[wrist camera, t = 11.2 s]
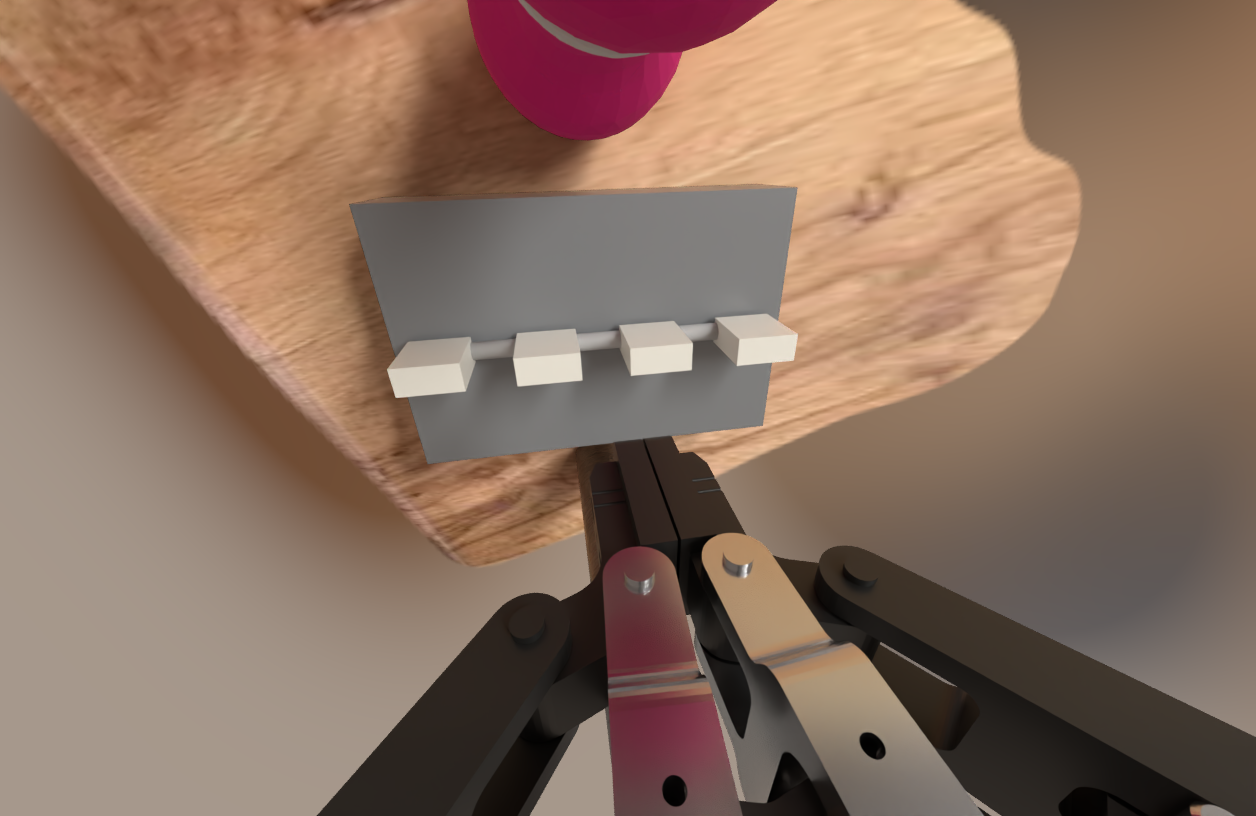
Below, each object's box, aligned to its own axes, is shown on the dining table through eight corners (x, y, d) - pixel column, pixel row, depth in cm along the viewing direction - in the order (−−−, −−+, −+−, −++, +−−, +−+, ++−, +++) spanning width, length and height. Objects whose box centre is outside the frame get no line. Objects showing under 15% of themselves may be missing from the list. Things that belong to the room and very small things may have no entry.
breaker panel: (382, 197, 20) (349, 204, 16) (758, 184, 22) (797, 187, 19) (443, 424, 26) (427, 463, 22) (735, 393, 28) (762, 425, 25)
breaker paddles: (409, 339, 19) (386, 369, 16) (765, 312, 21) (798, 334, 19) (416, 365, 20) (396, 398, 17) (761, 336, 22) (793, 360, 19)
